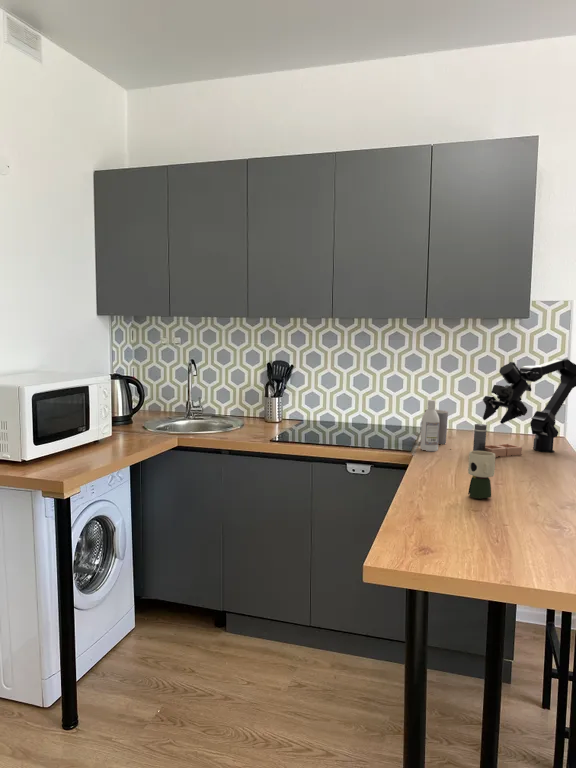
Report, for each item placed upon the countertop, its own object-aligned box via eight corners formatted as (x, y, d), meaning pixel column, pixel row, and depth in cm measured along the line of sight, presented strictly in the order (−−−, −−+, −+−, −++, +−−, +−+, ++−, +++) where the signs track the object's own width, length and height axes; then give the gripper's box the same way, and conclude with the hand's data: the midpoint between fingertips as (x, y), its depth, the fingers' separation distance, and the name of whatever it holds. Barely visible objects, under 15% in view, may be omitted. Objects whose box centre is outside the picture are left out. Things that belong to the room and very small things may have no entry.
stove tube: (479, 454, 232) (481, 423, 231) (487, 456, 228) (489, 425, 227) (470, 454, 230) (471, 424, 229) (478, 457, 226) (480, 426, 225)
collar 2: (507, 451, 240) (507, 443, 240) (521, 454, 233) (521, 447, 233) (493, 452, 237) (493, 444, 236) (507, 455, 230) (507, 448, 230)
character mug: (461, 492, 175) (463, 448, 174) (485, 493, 175) (487, 449, 174) (473, 503, 164) (476, 456, 163) (498, 503, 164) (501, 457, 163)
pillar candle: (418, 442, 253) (420, 407, 252) (430, 439, 260) (432, 405, 259) (438, 446, 246) (440, 410, 245) (450, 443, 253) (452, 408, 252)
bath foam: (441, 451, 236) (444, 400, 234) (428, 452, 233) (431, 401, 231) (429, 447, 242) (432, 398, 240) (416, 449, 239) (418, 399, 237)
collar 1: (492, 452, 236) (492, 444, 236) (506, 456, 230) (506, 448, 229) (477, 453, 233) (478, 445, 233) (491, 457, 227) (491, 449, 226)
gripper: (487, 375, 239) (464, 404, 235) (523, 379, 222) (499, 410, 218) (501, 394, 243) (479, 422, 239) (537, 399, 226) (514, 430, 223)
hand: (492, 421), depth 230 cm, fingers open, 9 cm apart
